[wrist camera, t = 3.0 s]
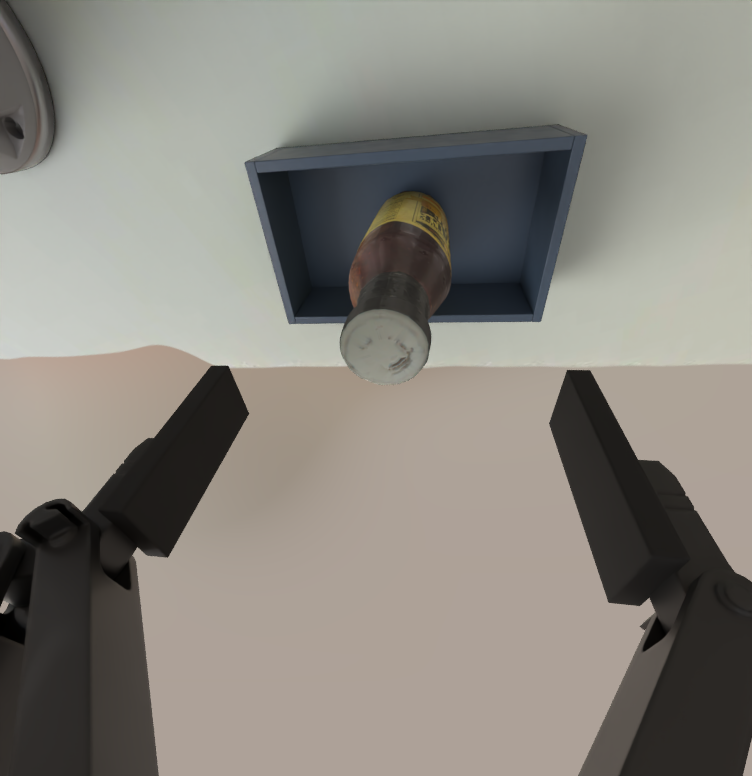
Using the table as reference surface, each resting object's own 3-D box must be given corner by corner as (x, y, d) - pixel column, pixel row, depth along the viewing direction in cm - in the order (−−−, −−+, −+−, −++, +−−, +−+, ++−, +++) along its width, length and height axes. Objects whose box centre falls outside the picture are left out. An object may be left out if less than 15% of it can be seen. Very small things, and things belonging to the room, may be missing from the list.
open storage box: (307, 292, 37) (288, 324, 32) (275, 148, 29) (244, 162, 24) (525, 287, 33) (541, 321, 29) (558, 124, 25) (587, 134, 21)
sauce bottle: (453, 252, 32) (469, 404, 17) (386, 269, 34) (348, 420, 19) (439, 171, 28) (445, 275, 13) (364, 195, 30) (294, 311, 15)
